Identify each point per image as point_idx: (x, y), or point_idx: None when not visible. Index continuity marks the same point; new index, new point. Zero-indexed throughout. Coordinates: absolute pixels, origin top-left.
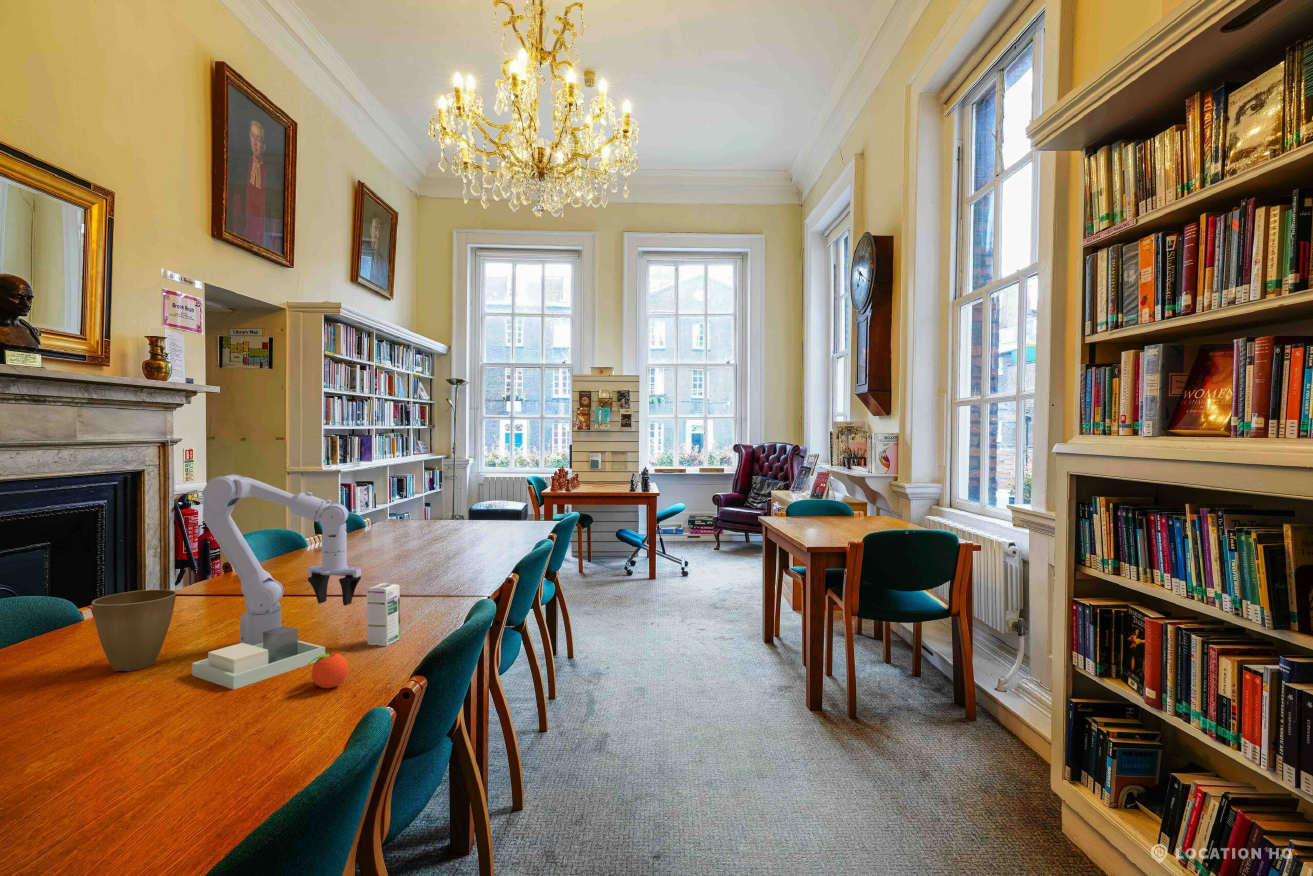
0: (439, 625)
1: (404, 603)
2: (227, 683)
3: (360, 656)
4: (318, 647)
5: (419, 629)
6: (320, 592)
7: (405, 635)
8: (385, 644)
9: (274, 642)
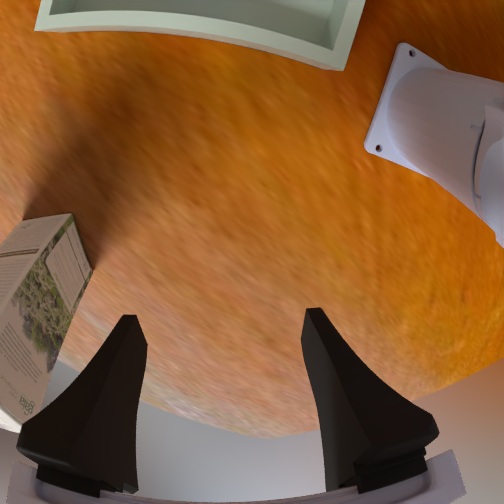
0: (71, 361)
1: (267, 425)
2: None
3: (12, 125)
4: (56, 14)
5: (79, 339)
6: (323, 367)
7: None
8: (20, 222)
9: None
